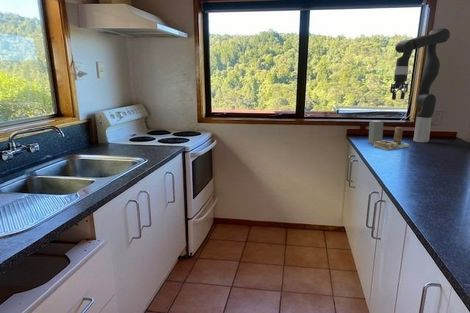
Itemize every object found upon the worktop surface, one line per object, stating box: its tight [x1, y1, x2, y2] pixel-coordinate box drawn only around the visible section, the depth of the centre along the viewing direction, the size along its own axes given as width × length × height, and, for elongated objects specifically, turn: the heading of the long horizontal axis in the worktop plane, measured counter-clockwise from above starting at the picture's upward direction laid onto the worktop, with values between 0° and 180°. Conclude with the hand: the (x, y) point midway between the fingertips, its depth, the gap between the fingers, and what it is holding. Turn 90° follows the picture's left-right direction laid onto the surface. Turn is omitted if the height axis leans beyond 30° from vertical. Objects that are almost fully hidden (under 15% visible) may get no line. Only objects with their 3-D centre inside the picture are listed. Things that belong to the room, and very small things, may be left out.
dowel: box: [392, 126, 404, 145], centre depth 211 cm, size 4×4×12 cm
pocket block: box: [373, 139, 399, 151], centre depth 207 cm, size 10×10×4 cm
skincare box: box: [368, 119, 384, 145], centre depth 219 cm, size 8×7×16 cm
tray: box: [397, 142, 410, 149], centre depth 212 cm, size 10×10×2 cm
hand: (397, 99), depth 212 cm, fingers open, 8 cm apart
